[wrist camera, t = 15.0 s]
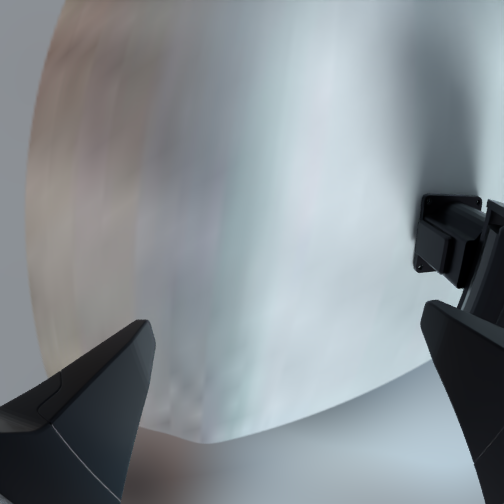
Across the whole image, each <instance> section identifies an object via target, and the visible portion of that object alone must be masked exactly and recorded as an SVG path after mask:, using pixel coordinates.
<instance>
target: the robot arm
mask: <svg viewBox="0 0 504 504" xmlns="http://www.w3.org/2000/svg"><path fill="white" fill-rule="evenodd" d="M428 199H429V202H428V203H427V200H428ZM477 200H478V202H477ZM476 202H477V204H476ZM486 207H488V208H487V212H486V213H484V212H482V211H481V208H482V199H481V198H480V197H478V196H469V195H446V194H425V195H424V196H423V197H422V203H421V214H420V221H419V223H418V232H417V240H416V247H415V252H416V254H415V261H414V270H415V271H416V272H418V273H423V272H433V271H437V272H438V273H439V274H441V275H444V276H445V277H446V278H447V279H448V280H449V281H450V282H451V283H452V284H453V285H454V286H455V287H456V288H458V289H460V288H462V289H463V293H462V296H461V298H460V301H459V304H458V306H457V308H456V307H453V306H451V305H448V304H446V303H444V302H441V301H439V300H431V301H427V302H426V304H425V306H424V310H423V314H422V318H421V323H420V325H421V330H422V332H423V335H424V338H425V341H426V343H427V346H428V349H429V352H430V354H431V357H432V360H433V363H434V365H435V367H436V370H437V372H438V374H439V376H440V378H441V381H442V382H443V385H444V387H445V390H446V392H447V394H448V397H449V399H450V401H451V404H452V406H453V408H454V411H455V413H456V416H457V418H458V421H459V423H460V426H461V428H462V431H463V434H464V437H465V439H466V442H467V445H468V448H469V451H470V453H471V456H472V459H473V462H474V466H475V469H476V472H477V475H478V479H479V482H480V485H481V489H482V493H483V496H484V499H485V504H504V203H501V202H497V201H494V200H490V199H488V201H487V206H486ZM419 265H421V267H420V268H418V267H419ZM155 348H156V342H155V338H154V334H153V331H152V327H151V324H150V322H149V321H148V320H135V321H134V322H132V323H131V324H129V325H128V326H126V327H125V328H123V329H122V330H120V331H119V332H117V333H116V334H114V335H113V336H111V337H110V338H108V339H107V340H105V341H104V342H102V343H101V344H99V345H98V346H96V347H95V348H93V349H92V350H90V351H89V352H87V353H86V354H84V355H83V356H81V357H80V358H78V359H77V360H75V361H74V362H72V363H71V364H69V365H68V366H67V367H65V368H64V369H62V370H61V371H59V372H58V373H56V374H55V375H53V376H52V377H50V378H49V379H47V380H46V381H44V382H42V383H41V384H39V385H38V386H36V387H34V388H33V389H31V390H29V391H27V392H25V393H24V394H22V395H20V396H18V397H17V398H15V399H13V400H11V401H9V402H8V403H6V404H4V405H2V406H0V504H121V502H120V501H121V498H122V494H123V489H124V484H125V479H126V475H127V471H128V467H129V462H130V458H131V454H132V450H133V445H134V442H135V438H136V434H137V430H138V426H139V422H140V418H141V415H142V411H143V407H144V404H145V400H146V396H147V393H148V389H149V384H150V378H151V372H152V366H153V360H154V354H155Z"/></svg>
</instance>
